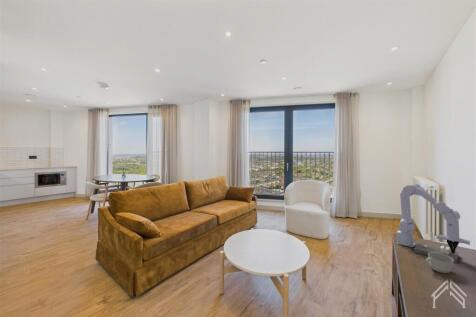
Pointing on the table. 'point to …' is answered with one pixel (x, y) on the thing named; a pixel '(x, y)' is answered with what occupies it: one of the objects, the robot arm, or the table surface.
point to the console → (427, 249)
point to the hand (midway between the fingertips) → (453, 252)
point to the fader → (445, 250)
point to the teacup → (440, 262)
